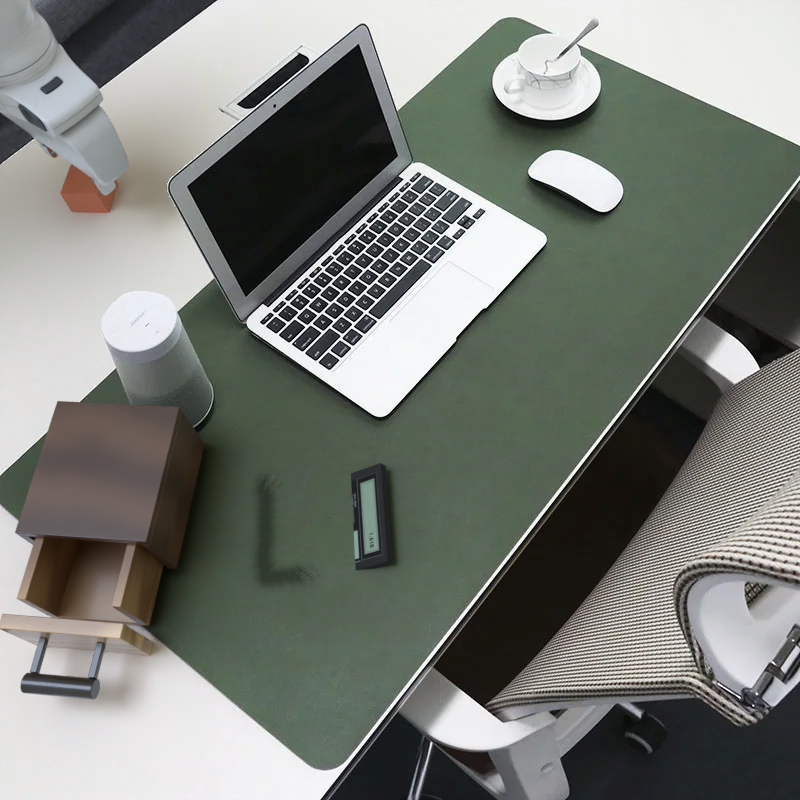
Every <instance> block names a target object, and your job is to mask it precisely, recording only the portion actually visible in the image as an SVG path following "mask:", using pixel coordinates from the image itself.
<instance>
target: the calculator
mask: <svg viewBox="0 0 800 800" xmlns="http://www.w3.org/2000/svg"><path fill="white" fill-rule="evenodd" d="M350 485H351V505H352V527H353V545H354V547H353V548H354V566H355V568H354V569H355V571H361V570H362V571H363V570H372V569H377V568H378V569H379V568H380V567H381V568H382V567H385V566H388V565H393V563H394V561H393V546H392V545H393V544H392V532H391V518H390V505H389V504H390V503H389V502H390V501H389V491H388V475H387V466H386V465H385V464H383V463H382V462H379V463H377V464H374V465H371V466H368V467H365V468H363V469H359V470H357V471H354V472H351V473H350Z"/></svg>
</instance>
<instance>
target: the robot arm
mask: <svg viewBox="0 0 800 800" xmlns="http://www.w3.org/2000/svg"><path fill="white" fill-rule="evenodd" d="M103 101H104V95H103V94H102V91H101V89H100V88H99V87H98V84H96V83H95V81H94V80H92V79H91V78H90V76H88V74H87V73H85V72H84V71H83V70H82V69H81V68H80V67H79V66H78V65H77V64H76V63H75V62H74V61H73V60H72V59H71V57H70V56H69V54H68V53H67V52H66V50H65V49H64V47H63V45H62V44H61V43H58V40H57V38H56V37H55V35H54V33H53V31H52V29H51V27H50V25H49V23H48V22H47V21H46V19H45V18H44V17H43V16H42V15H41V14H40V13H39V11H37V9H36V7H35V5H34V2H33V1H32V0H0V114H1V115H2V116H4V117H6V118H7V119H9V120H10V121H11V122H13V123H14V124H15V125H17V126H18V127H20V128H21V129H22V130H24V131H25V132H26V133H28V134H29V135H30V136H31V137H32V138H33V139H34V140H35V141H36V142H37V143H38V144H39V146H40V147H41V149H42V151H43V152H44V153H45V154H47V155H48V156H49V157H51V158H53V159H55V158H58V156H60V158H63V159H64V160H66V161H67V162H68V163H70V165H71V164H73V165H74V166H75V167H77V168H78V169H79V170H81V171H82V172H84V173H85V174H86V175H88V176H89V177H91V178H92V179H91V182H92V184H93V185H94V186H95V189H97V190H98V191H99V192H101V193H102V194H103V195H108V194H109V193H111V192H112V191H113V190H114V189H115V187H116V184H115V182H114V181H115V180H117V179H119V178H120V177H121V176H122V175H123V174H124V173H126V172H127V170H128V168H129V165H130V161H129V158H128V155H127V152H126V150H125V148H124V145H123V143H122V141H121V138H120V136H119V134H118V132H117V131H116V128H115V126H114V125H113V122H112V121H111V118H110V117H109V116H108V114H107V112H106V111H105V110H104V109H103V107H102V106H101V105H100V104H101V103H102V102H103Z"/></svg>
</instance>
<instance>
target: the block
mask: <svg viewBox="0 0 800 800" xmlns="http://www.w3.org/2000/svg"><path fill="white" fill-rule="evenodd" d="M91 179H92V178H91V177H89V176H88V175H86V174H85V173H84V172H82V171H81V170H79V169H78V168H77V167H75V166H74V165H73V164H71V163H70V165H69V169H68V171H67V174H66V176H65V179H64V182H63V184H62V187H61V190H60V193H59V194H60V196H61V198H62V199H63V200H64V202H65V203H66V205H67V206H68V208H69V210H70V211H71V213H83V214H85V213H87V214H89V213H90V214H110V210H111V207H112V204H113V202H114V198H115V195H116V192H117V190H118V186H119V182H118V180H117V179H116V180H115V181H114V182H115V184H116V187H115V189H114V190H113V191H112V192H111V193H109V194H108V195H103V194H102V193H101V192H99V191H98V190H97V189H95V186H94V185H93V184H92V182H91Z"/></svg>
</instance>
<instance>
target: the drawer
mask: <svg viewBox="0 0 800 800" xmlns="http://www.w3.org/2000/svg"><path fill="white" fill-rule="evenodd" d="M31 547H32V548H31V551H30V554H29V557H28V561H27V564H26V566H25V571H24V574H23V576H22V579H21V583H20V586H19V589H18V593H17V596H16V600H17V601H20V602H22V603H24V604H26V606H29V607H31V608H32V609H35V610H37V611H39V612H41V613H42V614H44V615H46V616H37V615H23V614H13V613H12V614H11V613H2V614H1V617H0V630H1V631H3V632H5V633H6V634H9V635H12V636H14V637H16V638H18V639H21V640H22V641H26V642H28V643H29V644H32V645H34V646H36V649H35V653H34V656H33V659H32V662H31V666H30V669H29V672H26V673H25V674H23V676H22V677H21V680H20V686H19V687H20V691H21V693H23V694H29V695H40V696H50V697H59V698H60V697H61V698H72V699H83V700H96V699H97V698H98V695H99V693H100V690H101V681H100V679H99V678H98V677H99V673H100V669H101V665H102V661H103V658H104V654H105V653H110V654H111V653H113V654H122V655H123V654H124V655H136V656H146V657H147V656H151V654H152V649H153V645H154V642H153V641H152V640H151V639H150V638H147V637H146V636H145V635H142V634H141V633H140V632H138V631H136V630H135V629H133V628H131V627H130V626H131V625H132V626H141V627H143V626H144V627H149V626H150V624H151V621H152V616H153V612H154V607H155V604H156V599H157V595H158V591H159V586H160V582H161V577H162V573H163V568H164V566H165V565H164V564H163V563H161V562H160V561H159V560H158V559H157V558H156V557H155V556H154V555H152V554H151V553H150V552H149V551H148V550H147V549H146V548H145V547H143V546H142V545H141V544H132V543H118V542H103V541H89V540H74V539H60V538H45V537H36V538H35V541H34V544H33V545H32V546H31ZM129 625H130V626H129ZM47 648H52V649H54V648H55V649H66V650H75V651H76V650H77V651H89V652H93V656H92V659H91V663H90V667H89V671H88V675H87V677H84V676H71V675H62V674H61V675H59V674H52V673H51V674H49V673H41V669H42V665H43V662H44V659H45V656H46V651H47Z"/></svg>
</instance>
